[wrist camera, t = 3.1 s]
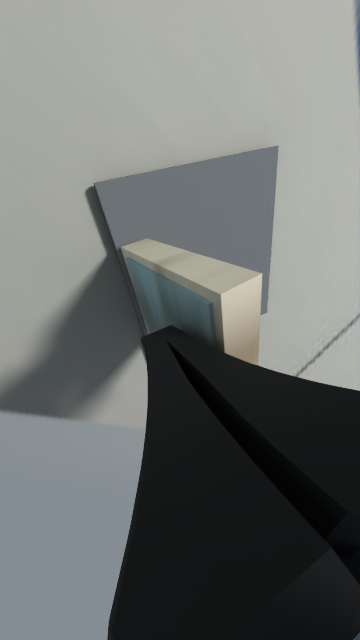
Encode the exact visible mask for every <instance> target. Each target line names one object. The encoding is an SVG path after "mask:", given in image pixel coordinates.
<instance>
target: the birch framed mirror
mask: <svg viewBox="0 0 360 640" xmlns="http://www.w3.org/2000/svg"><path fill="white" fill-rule="evenodd" d="M121 250H122V253H123V256H124V259H125V263H126V266H127V269H128V272H129V275H130V278H131V281H132V284H133V287H134V290H135V294H136V297H137V300H138V303H139V306H140V309H141V312H142V315H143V318H144V322H145V325H146V328H147V331H148V334H150V333H153V332H155V331H158V330H160V329H163V328H165V327H167V326H170V325H173V326H175V327H177V328H178V329H180V330H182V331H183V332H185V333H187V334H189V335H190V336H192V337H194V338H196V339H198V340H200V341H202V342H204V343H206V344H208V345H210V346H212V347H214V348H216V349H218V350H220V351H222V352H224V353H227V354H229V355H231V356H234V357H236V358H238V359H241V360H243V361H246V362H249V363H252V364H255V365H257V366H258V351H259V331H260V311H261V291H262V273H259V272H256V271H253V270H249V269H246V268H243V267H239V266H236V265H233V264H230V263H226V262H223V261H220V260H216V259H213V258H210V257H206V256H203V255H200V254H197V253H193V252H190V251H187V250H183V249H180V248H177V247H174V246H170V245H167V244H164V243H160V242H157V241H154V240H151V239H147V238H146V239H143V240H140V241H137V242H134V243H131V244H128V245H125V246H122V247H121Z"/></svg>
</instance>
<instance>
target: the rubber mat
mask: <svg viewBox="0 0 360 640" xmlns="http://www.w3.org/2000/svg"><path fill="white" fill-rule="evenodd" d="M277 159H278V146H274V147H269V148H264V149H259V150H254V151H249V152H244V153H239V154H234V155H230V156H225V157H220V158H215V159H210V160H205V161H200V162H195V163H190V164H185V165H180V166H175V167H170V168H166V169H161V170H156V171H151V172H146V173H141V174H136V175H131V176H126V177H121V178H116V179H111V180H106V181H102V182H97V183H94V186H95V189H96V192H97V195H98V198H99V201H100V204H101V207H102V210H103V213H104V216H105V219H106V222H107V225H108V228H109V231H110V234H111V237H112V240H113V243H114V246H115V249H116V252H117V255H118V258H119V261H120V264H121V267H122V270H123V273H124V275H125V278H126V281H127V284H128V287H129V290H130V293H131V296H132V299H133V302H134V305H135V308H136V311H137V314H138V317H139V320H140V323H141V326H142V329H143V332H144V335H145V336H146V335H148V331H147V328H146V325H145V322H144V318H143V315H142V312H141V309H140V306H139V303H138V300H137V297H136V294H135V290H134V287H133V284H132V281H131V278H130V275H129V272H128V269H127V266H126V263H125V259H124V256H123V253H122V250H121V247H122V246H125V245H128V244H131V243H134V242H137V241H140V240H143V239H146V238H147V239H151V240H154V241H157V242H160V243H164V244H167V245H170V246H174V247H177V248H180V249H183V250H187V251H190V252H193V253H197V254H200V255H203V256H206V257H210V258H213V259H216V260H220V261H223V262H226V263H230V264H233V265H236V266H239V267H243V268H246V269H249V270H253V271H256V272H259V273H262V291H261V311H260V315H262V314H265V313H267V302H268V288H269V274H270V259H271V245H272V231H273V216H274V202H275V188H276V173H277Z"/></svg>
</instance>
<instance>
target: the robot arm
mask: <svg viewBox="0 0 360 640" xmlns="http://www.w3.org/2000/svg"><path fill="white" fill-rule="evenodd" d="M141 341H142V344H143V347H144V350H145V354H146V360H147V372H148V408H147V422H146V433H145V442H144V450H143V458H142V465H141V471H140V477H139V482H138V488H137V493H136V499H135V504H134V510H133V515H132V520H131V525H130V530H129V535H128V540H127V544H126V548H125V553H124V557H123V561H122V566H121V570H120V575H119V579H118V583H117V588H116V592H115V596H114V601H113V605H112V609H111V614H110V619H109V627H108V640H360V391H357V390H352V389H347V388H342V387H337V386H332V385H327V384H323V383H318V382H314V381H310V380H306V379H302V378H298V377H294V376H290V375H287V374H283V373H279V372H276V371H273V370H269V369H266V368H263V367H260V366H257V365H255V364H252V363H249V362H246V361H243V360H241V359H238V358H236V357H234V356H231V355H229V354H227V353H224V352H222V351H220V350H218V349H216V348H214V347H212V346H210V345H208V344H206V343H204V342H202V341H200V340H198V339H196V338H194V337H192V336H190V335H189V334H187V333H185V332H183V331H182V330H180V329H178V328H177V327H175V326H173V325H170V326H167V327H165V328H163V329H160V330H158V331H155V332H153V333H150V334H148V335H146V336H143V337H142V339H141Z"/></svg>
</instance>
